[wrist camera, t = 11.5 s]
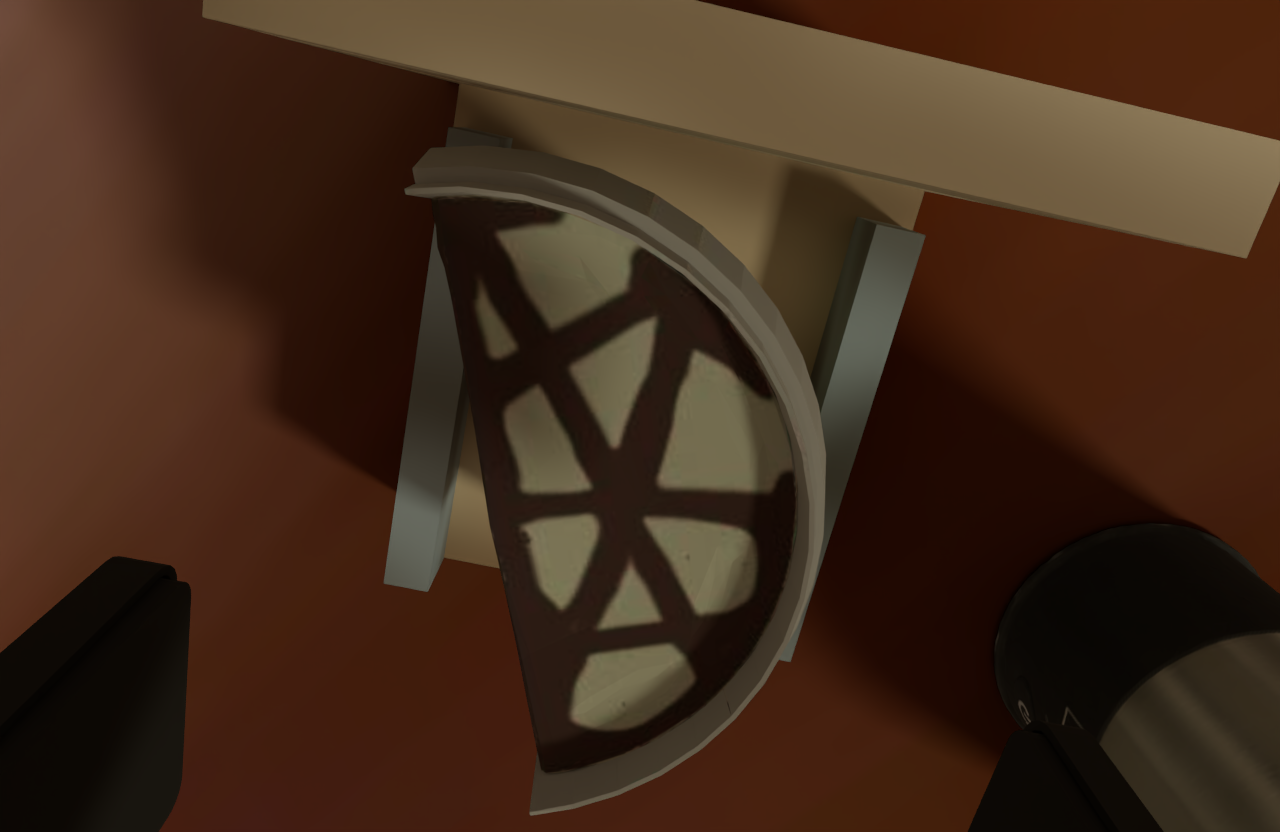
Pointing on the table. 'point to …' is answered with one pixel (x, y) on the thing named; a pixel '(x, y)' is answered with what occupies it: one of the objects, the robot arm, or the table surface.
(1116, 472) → the table surface
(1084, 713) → the milk frother
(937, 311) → the table surface
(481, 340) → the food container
